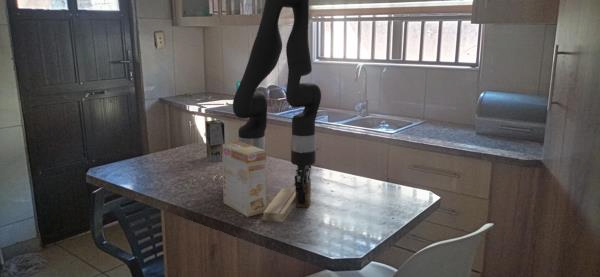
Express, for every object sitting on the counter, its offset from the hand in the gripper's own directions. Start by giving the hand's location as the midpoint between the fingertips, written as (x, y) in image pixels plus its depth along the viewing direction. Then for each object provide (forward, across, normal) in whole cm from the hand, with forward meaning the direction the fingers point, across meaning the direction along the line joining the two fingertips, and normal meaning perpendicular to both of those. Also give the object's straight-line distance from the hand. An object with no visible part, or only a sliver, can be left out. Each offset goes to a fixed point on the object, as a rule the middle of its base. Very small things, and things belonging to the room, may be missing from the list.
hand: (302, 200), depth 151 cm
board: (+2, +3, -6) cm, 7 cm away
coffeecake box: (+2, +6, -17) cm, 18 cm away
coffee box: (+2, -46, -47) cm, 66 cm away
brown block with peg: (+1, 0, 0) cm, 1 cm away
